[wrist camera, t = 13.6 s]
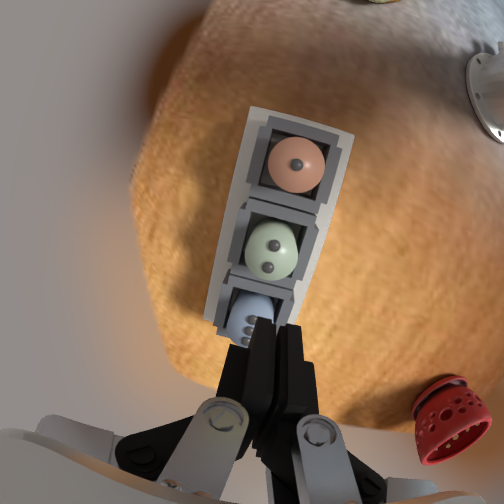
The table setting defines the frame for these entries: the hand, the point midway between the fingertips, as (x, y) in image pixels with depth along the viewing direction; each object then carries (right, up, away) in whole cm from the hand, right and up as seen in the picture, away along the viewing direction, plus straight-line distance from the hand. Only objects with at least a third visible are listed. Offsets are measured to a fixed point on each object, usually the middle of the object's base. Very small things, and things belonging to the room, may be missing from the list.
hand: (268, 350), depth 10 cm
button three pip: (0, -1, +18) cm, 18 cm away
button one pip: (+3, +11, +13) cm, 17 cm away
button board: (+2, +6, +18) cm, 19 cm away
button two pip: (+1, +5, +15) cm, 16 cm away
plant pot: (+32, -21, +24) cm, 45 cm away
